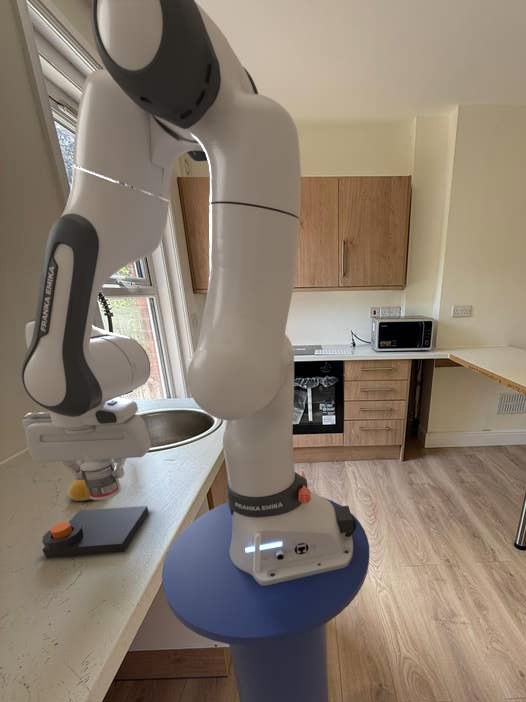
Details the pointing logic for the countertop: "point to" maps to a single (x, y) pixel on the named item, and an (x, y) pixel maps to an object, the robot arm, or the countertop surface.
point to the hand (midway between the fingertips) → (101, 477)
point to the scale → (97, 532)
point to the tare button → (61, 530)
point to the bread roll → (78, 491)
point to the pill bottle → (99, 477)
